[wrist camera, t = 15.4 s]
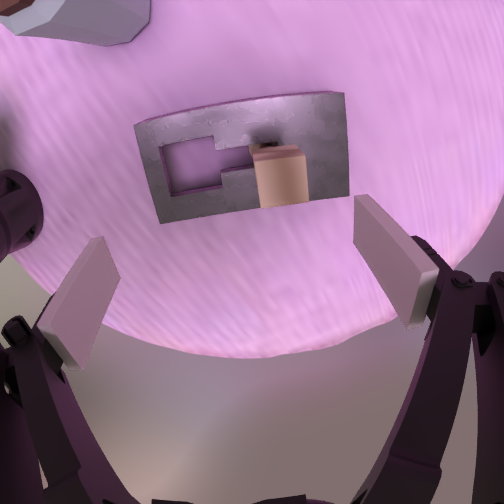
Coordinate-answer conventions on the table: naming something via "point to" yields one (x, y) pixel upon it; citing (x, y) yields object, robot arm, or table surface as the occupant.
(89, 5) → the water bottle
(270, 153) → the peg
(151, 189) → the keyhole plate
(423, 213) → the table surface
